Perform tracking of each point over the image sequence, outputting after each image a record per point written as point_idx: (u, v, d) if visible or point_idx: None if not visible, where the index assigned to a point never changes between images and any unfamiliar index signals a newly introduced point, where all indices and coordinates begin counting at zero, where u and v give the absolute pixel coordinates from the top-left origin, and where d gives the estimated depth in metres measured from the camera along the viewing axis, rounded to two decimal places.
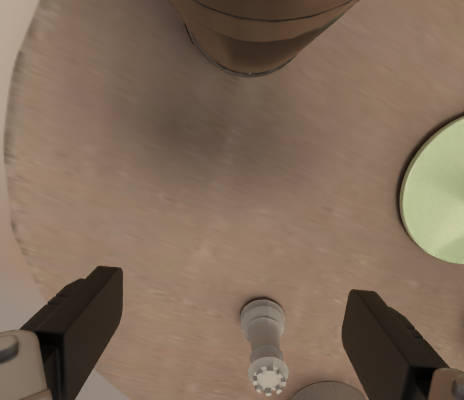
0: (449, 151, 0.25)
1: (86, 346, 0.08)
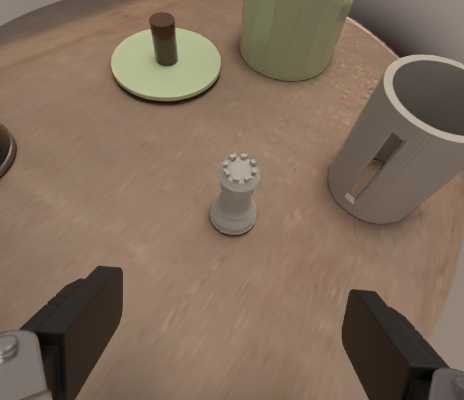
0: (128, 71, 0.37)
1: (86, 346, 0.08)
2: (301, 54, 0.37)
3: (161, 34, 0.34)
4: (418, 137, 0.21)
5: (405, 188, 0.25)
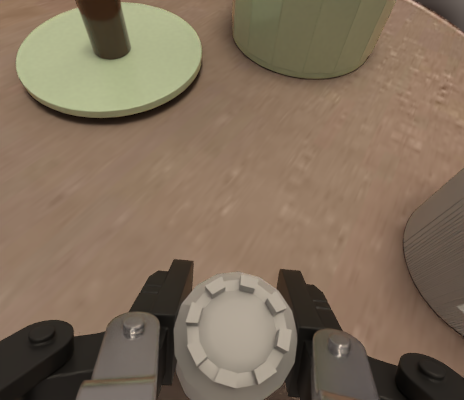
0: (44, 69, 0.22)
1: None
2: (336, 32, 0.22)
3: (90, 0, 0.19)
4: None
5: None
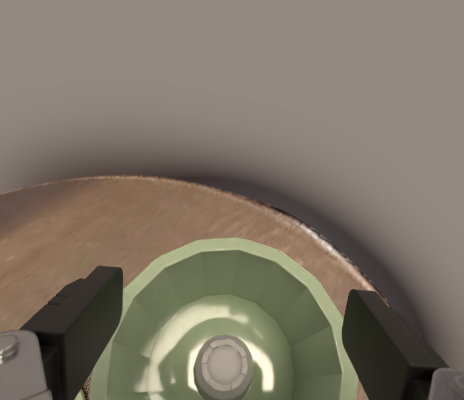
0: None
1: (85, 346, 0.08)
2: None
3: None
4: None
5: None
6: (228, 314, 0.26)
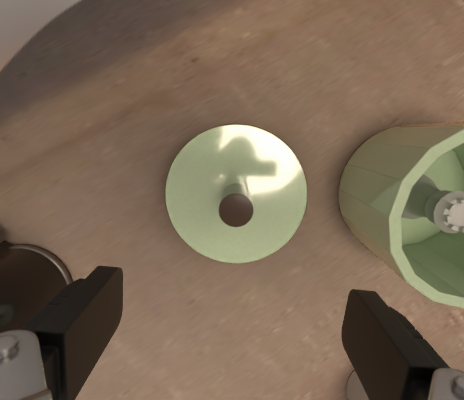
0: (186, 211, 0.30)
1: (86, 347, 0.08)
2: None
3: None
4: None
5: None
6: None
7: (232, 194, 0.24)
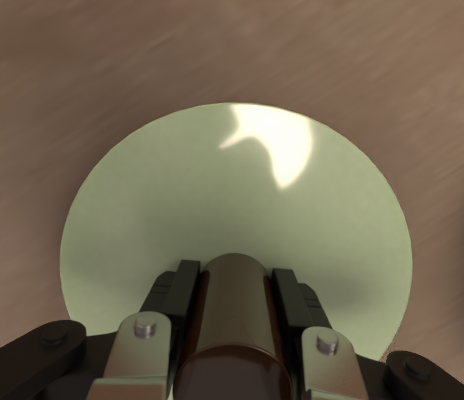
0: (113, 318, 0.12)
1: None
2: None
3: None
4: None
5: None
6: None
7: (219, 345, 0.07)
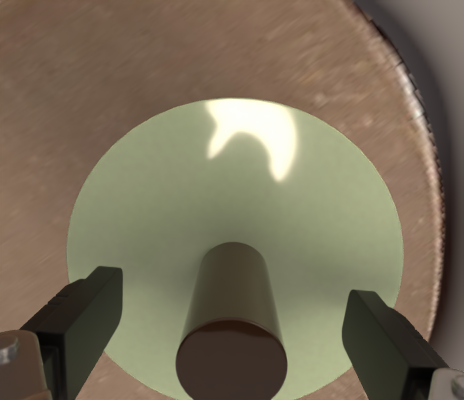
0: None
1: (86, 346, 0.08)
2: None
3: None
4: None
5: None
6: None
7: (218, 320, 0.07)
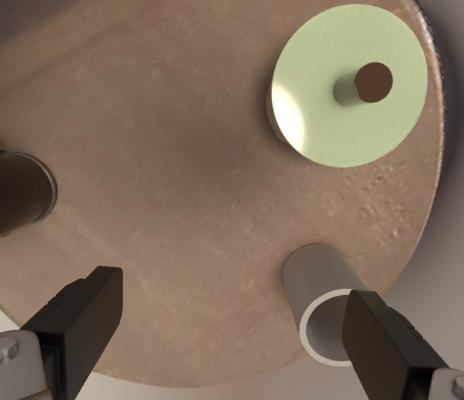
0: (293, 108, 0.27)
1: (86, 346, 0.08)
2: None
3: (361, 103, 0.23)
4: None
5: None
6: None
7: (371, 63, 0.22)
